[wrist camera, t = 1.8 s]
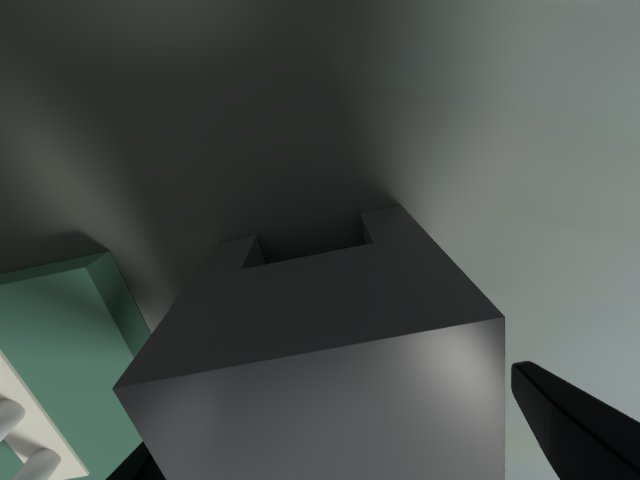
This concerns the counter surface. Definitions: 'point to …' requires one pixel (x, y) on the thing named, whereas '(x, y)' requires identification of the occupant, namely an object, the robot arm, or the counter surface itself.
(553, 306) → the counter surface
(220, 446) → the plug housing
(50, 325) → the pin board
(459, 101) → the counter surface
